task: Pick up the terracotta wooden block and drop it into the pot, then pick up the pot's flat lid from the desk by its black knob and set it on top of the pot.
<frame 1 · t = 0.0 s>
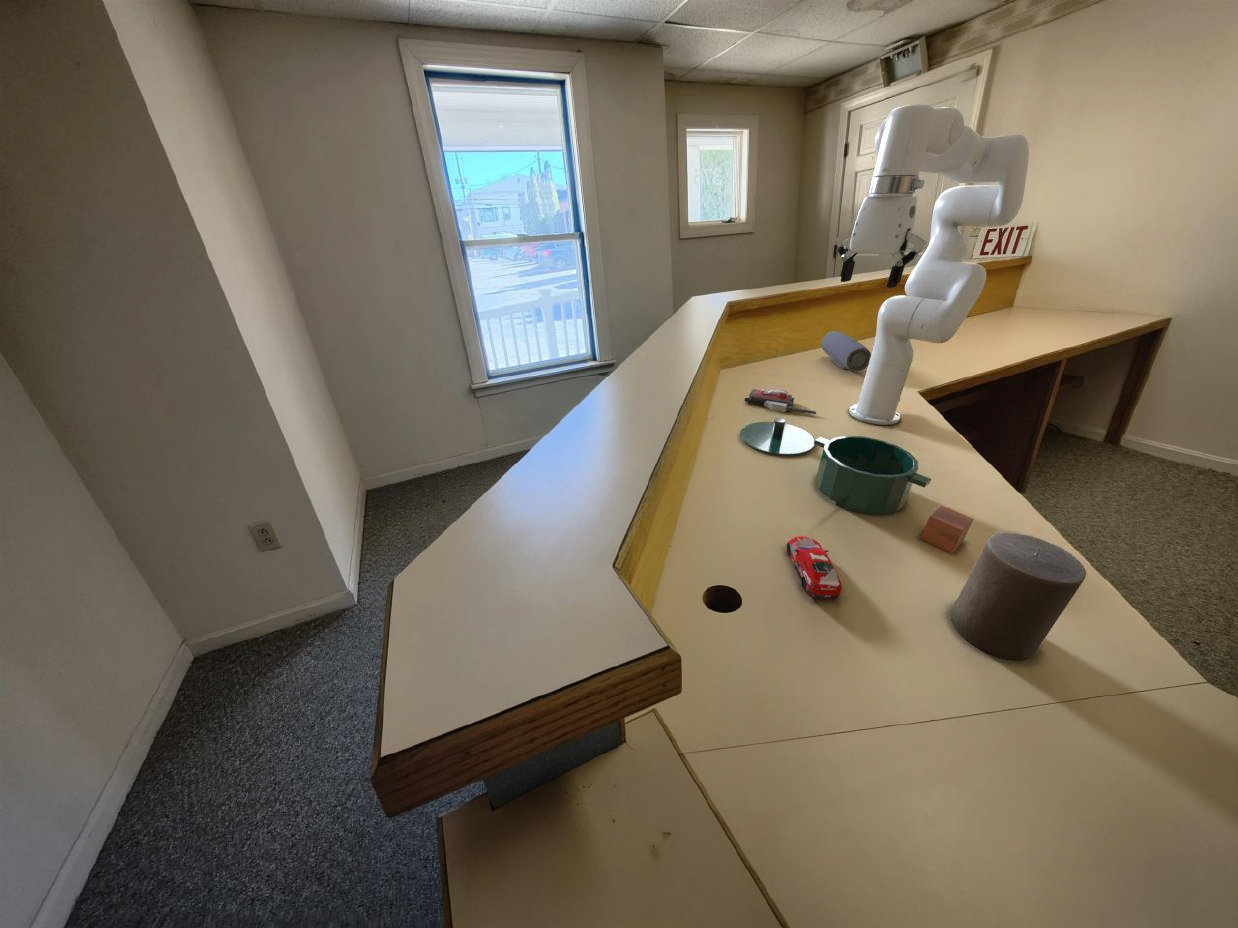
hand: (867, 284, 94), 37 cm above the worktop, tool pointing down, fingers open, 9 cm apart
lid: (776, 438, 113), point 1 cm above the worktop
pot: (858, 490, 93), on the worktop
race car: (810, 572, 73), on the worktop
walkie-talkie: (779, 407, 131), on the worktop
block: (941, 540, 80), on the worktop
pillar candle: (990, 631, 63), on the worktop
bluetooth speaker: (841, 365, 165), on the worktop
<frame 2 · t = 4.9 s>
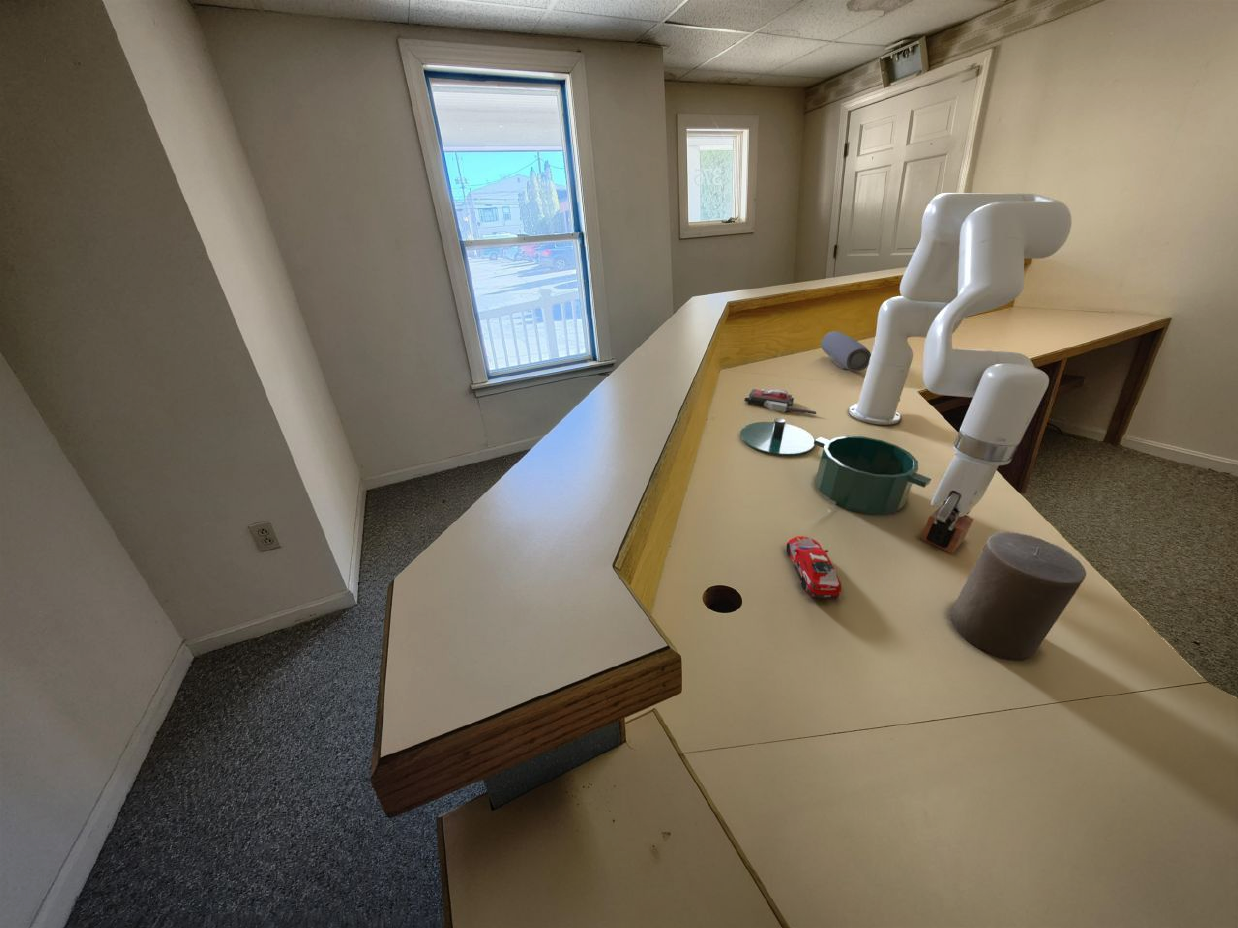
hand: (943, 536, 79), 1 cm above the worktop, tool pointing down, fingers closed on block, 5 cm apart
block: (941, 540, 80), on the worktop, touching gripper
everything else where it was.
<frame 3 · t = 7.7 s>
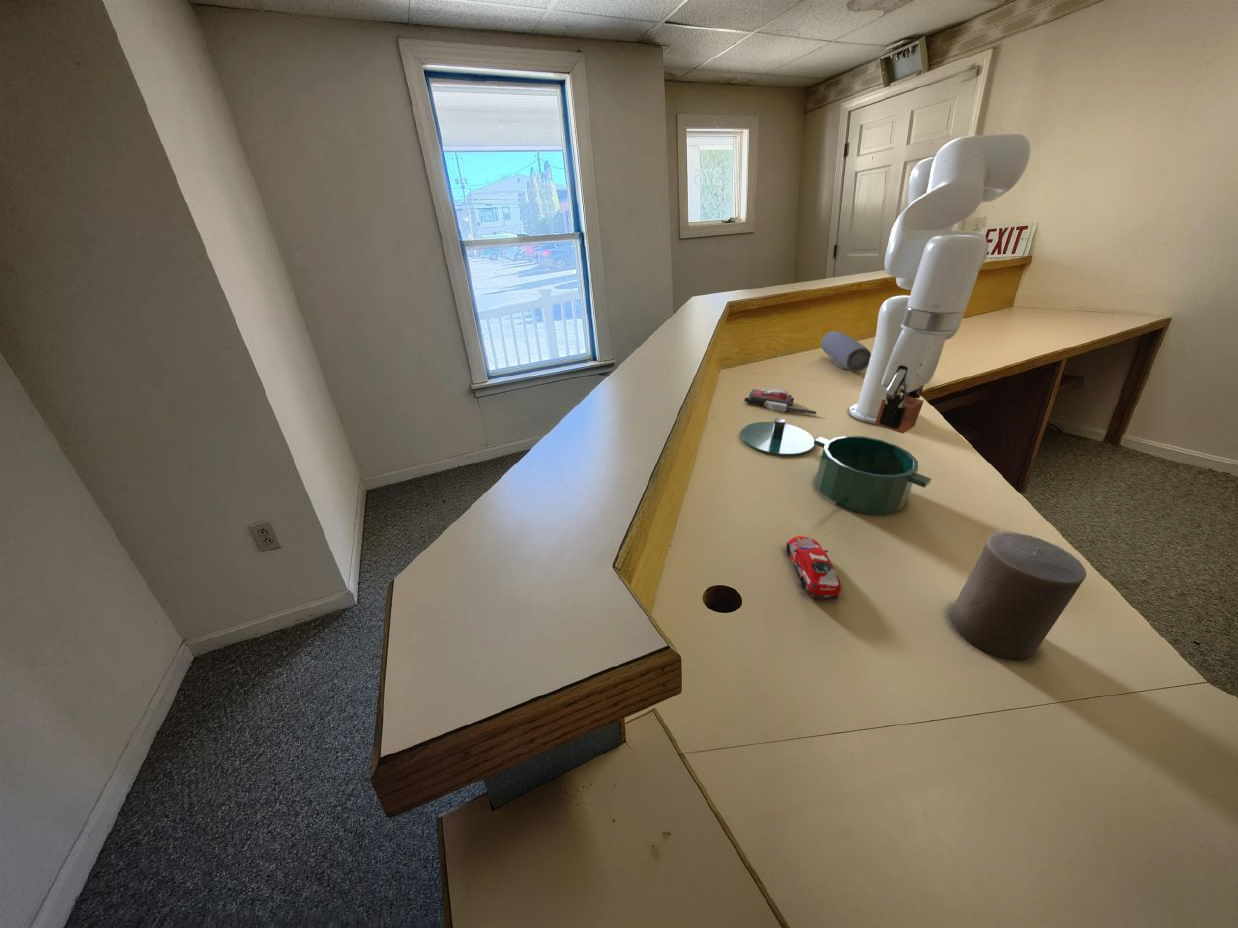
hand: (895, 420, 83), 17 cm above the worktop, tool pointing down, fingers closed on block, 5 cm apart
block: (894, 425, 83), point 16 cm above the worktop, touching gripper
everything else where it was.
when the fingers open (9 cm above the worktop, at t = 10.3 s): block drops 8 cm, resting on pot.
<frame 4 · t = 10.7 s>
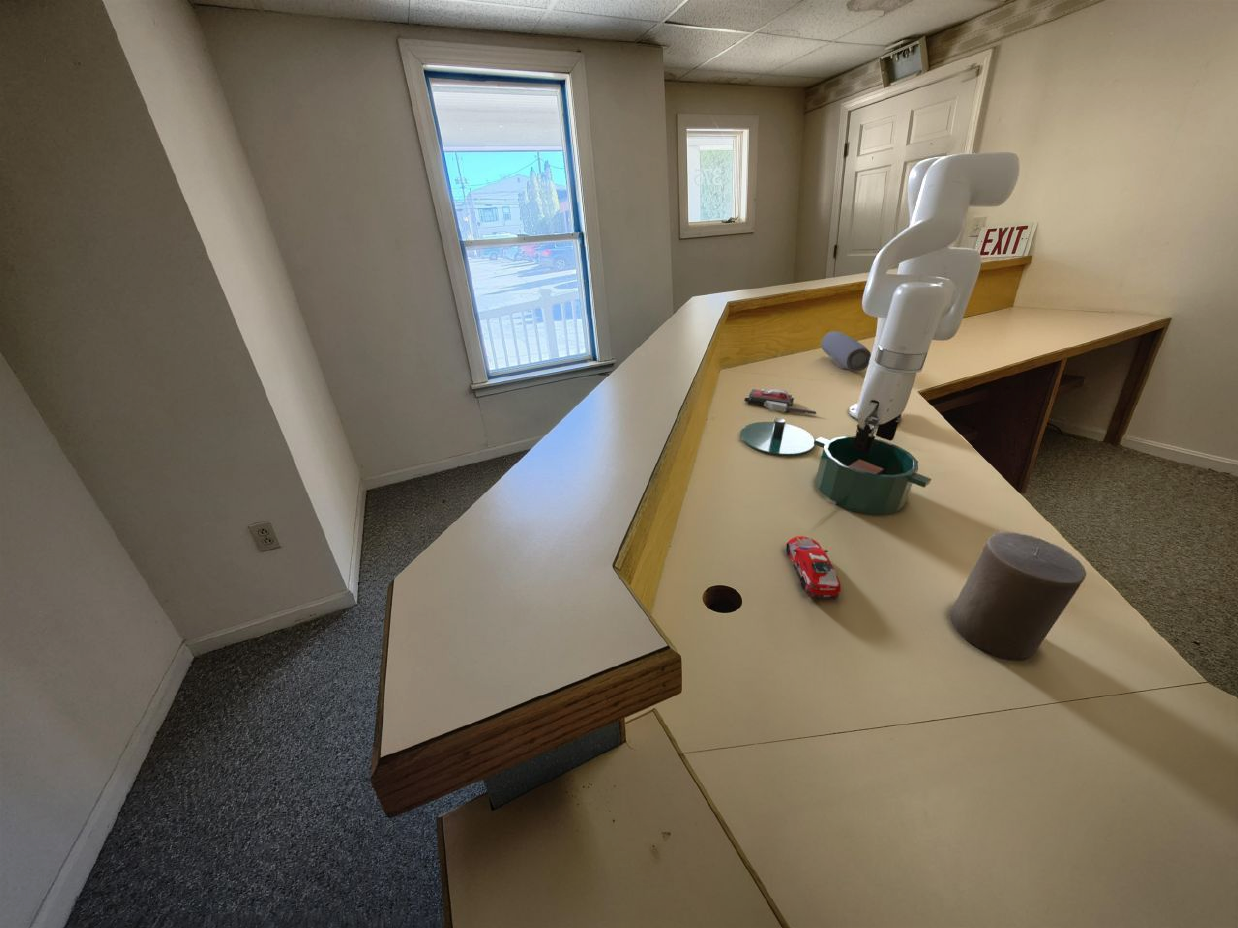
hand: (872, 445, 88), 11 cm above the worktop, tool pointing down, fingers open, 9 cm apart
block: (858, 488, 93), point 1 cm above the worktop, touching pot
everything else where it was.
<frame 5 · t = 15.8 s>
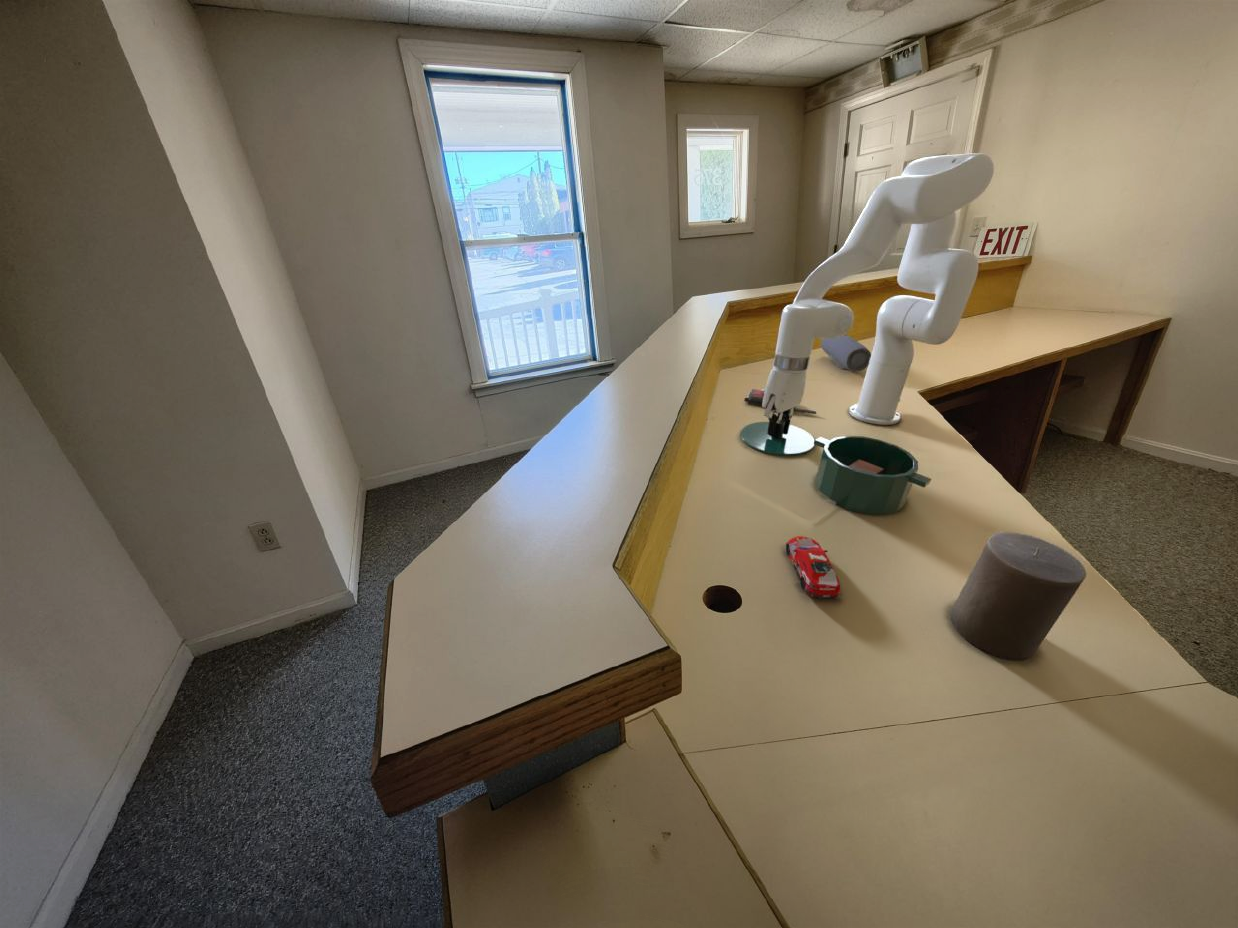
hand: (777, 433, 112), 2 cm above the worktop, tool pointing down, fingers closed on lid, 2 cm apart
lid: (776, 438, 113), point 1 cm above the worktop, touching gripper
everything else where it was.
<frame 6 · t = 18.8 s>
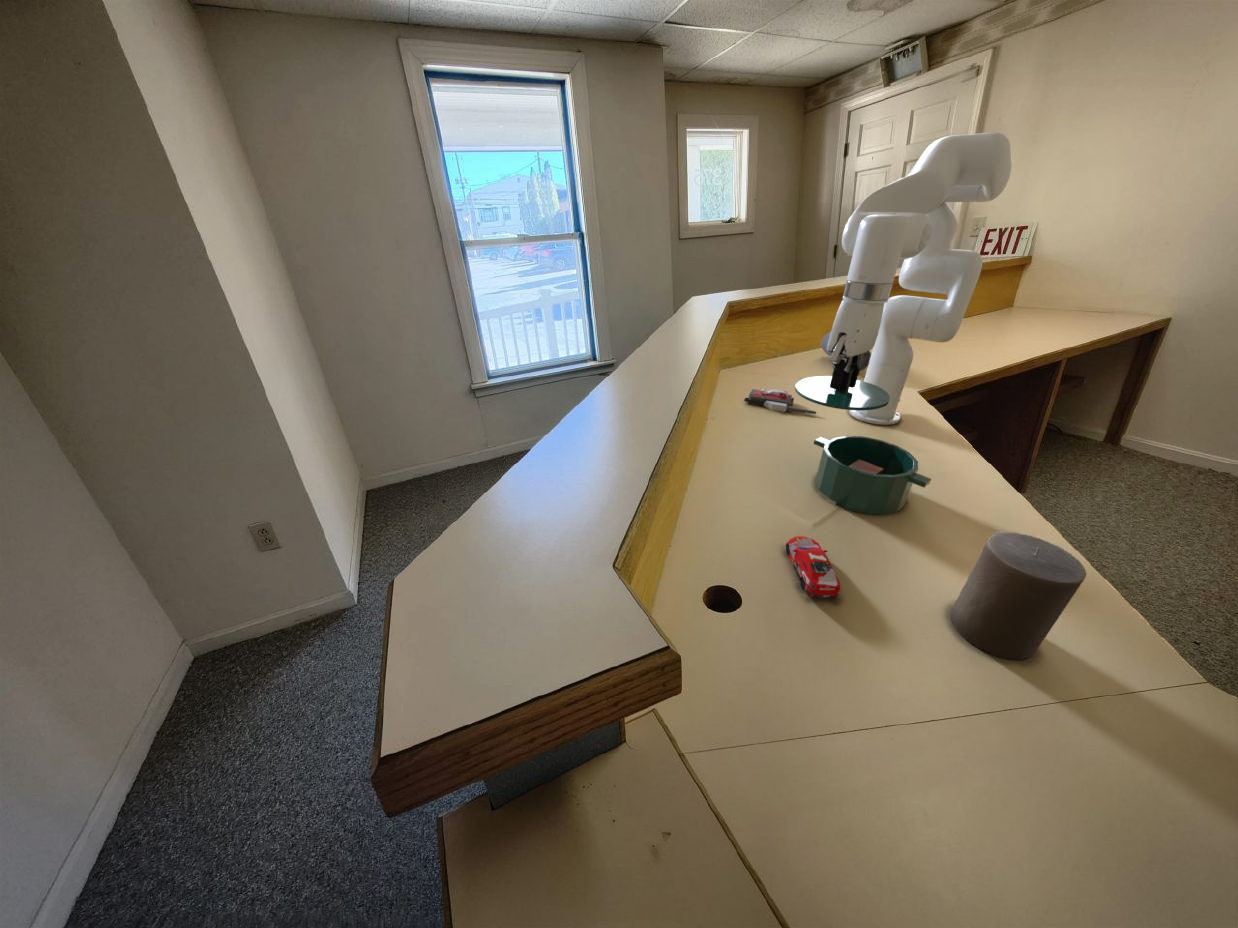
hand: (842, 386, 92), 19 cm above the worktop, tool pointing down, fingers closed on lid, 2 cm apart
lid: (840, 393, 92), point 18 cm above the worktop, touching gripper
everything else where it was.
when the fingers open (10 cm above the worktop, at t = 22.1 s): lid stays where it is, resting on pot.
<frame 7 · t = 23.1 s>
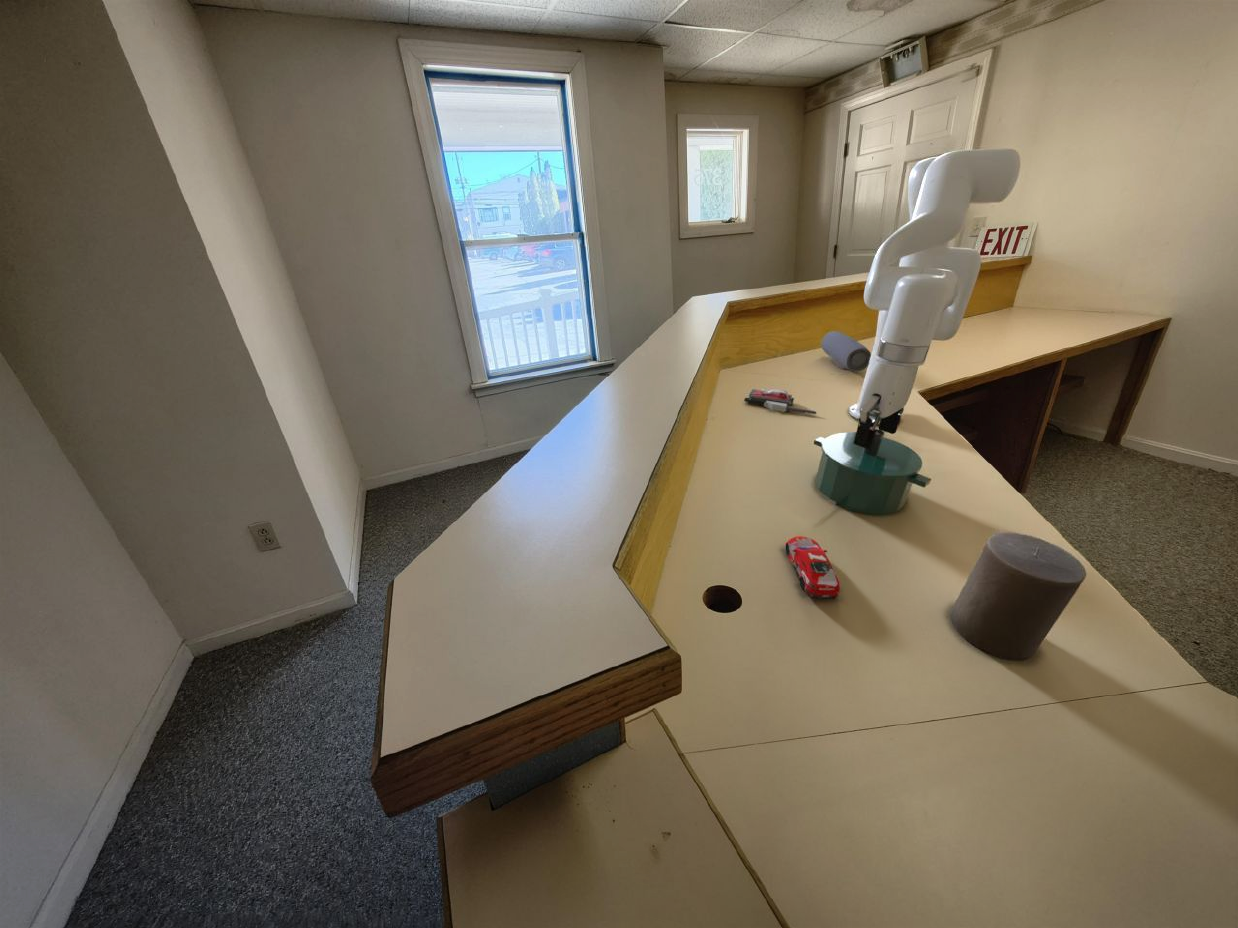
hand: (874, 438, 88), 12 cm above the worktop, tool pointing down, fingers open, 9 cm apart
lid: (869, 454, 89), point 8 cm above the worktop, touching pot
everything else where it was.
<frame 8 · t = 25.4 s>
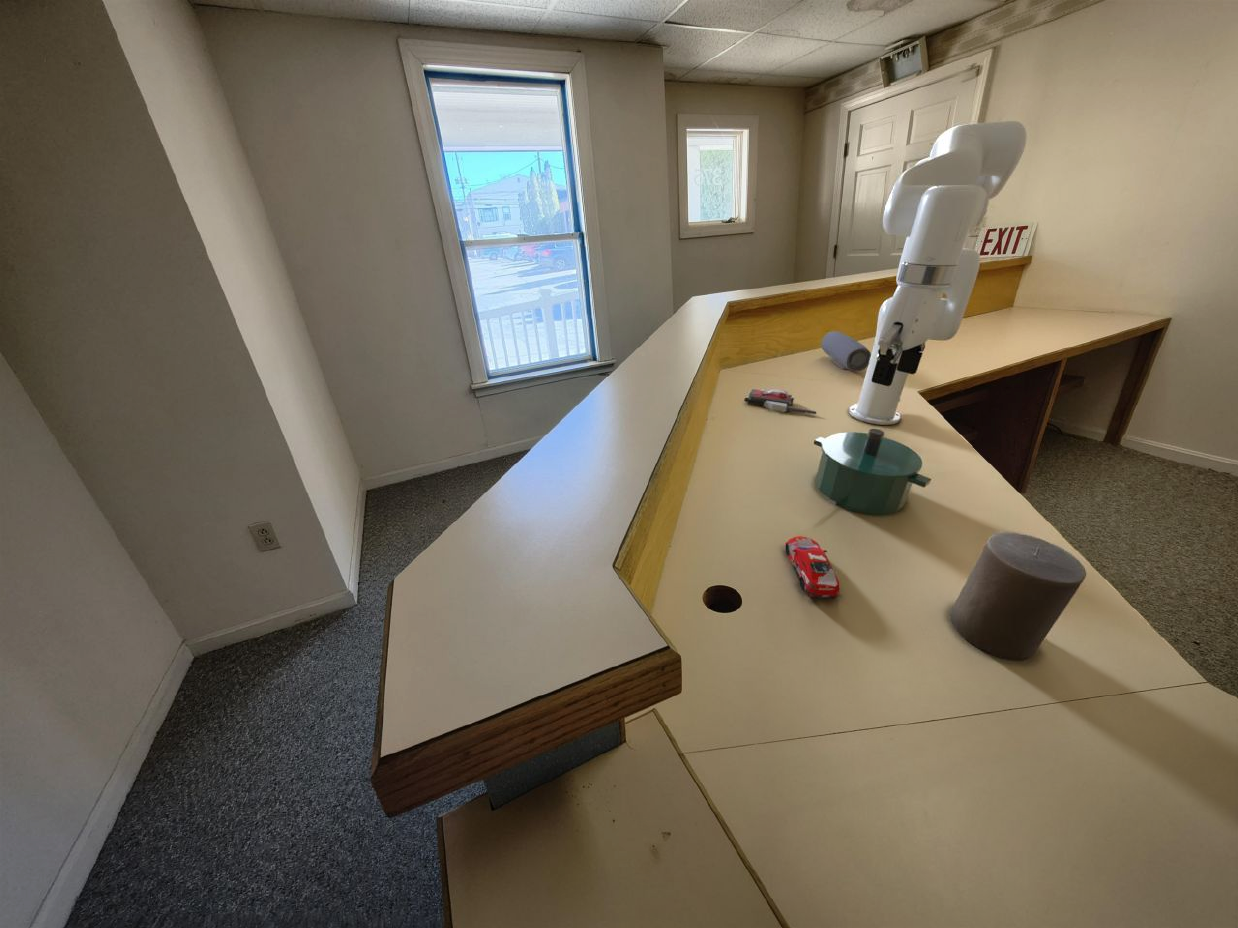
hand: (893, 377, 81), 24 cm above the worktop, tool pointing down, fingers open, 9 cm apart
nothing on the worktop moved.
at the end: block inside the target area in the pot (0.0 cm from its centre), point 0.5 cm above the pot's base; lid 0.0 cm off-centre on the pot, point 8.5 cm above the pot's base; lid tilted 0° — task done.
